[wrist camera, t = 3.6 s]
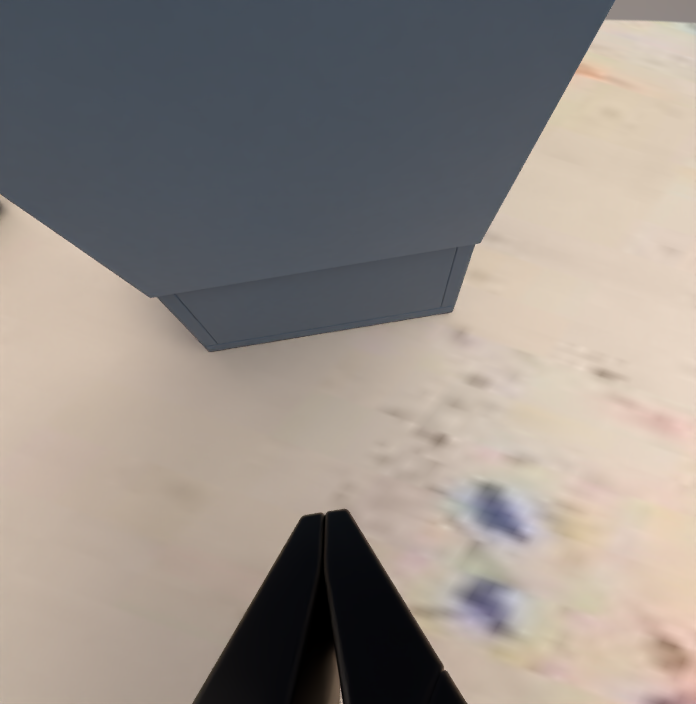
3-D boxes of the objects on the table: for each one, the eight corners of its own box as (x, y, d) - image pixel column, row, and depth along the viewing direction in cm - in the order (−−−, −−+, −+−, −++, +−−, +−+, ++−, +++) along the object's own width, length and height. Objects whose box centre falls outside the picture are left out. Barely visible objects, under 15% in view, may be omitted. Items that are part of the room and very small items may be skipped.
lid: (-471, -188, 5) (-487, -141, 4) (797, -409, 5) (822, -368, 4) (149, 282, 18) (149, 298, 18) (476, 228, 18) (480, 243, 18)
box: (204, 179, 29) (160, 90, 23) (407, 145, 29) (414, 47, 23) (209, 352, 24) (154, 295, 18) (453, 312, 24) (476, 242, 18)
